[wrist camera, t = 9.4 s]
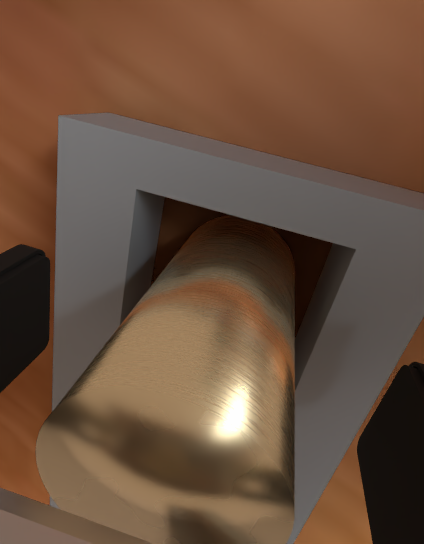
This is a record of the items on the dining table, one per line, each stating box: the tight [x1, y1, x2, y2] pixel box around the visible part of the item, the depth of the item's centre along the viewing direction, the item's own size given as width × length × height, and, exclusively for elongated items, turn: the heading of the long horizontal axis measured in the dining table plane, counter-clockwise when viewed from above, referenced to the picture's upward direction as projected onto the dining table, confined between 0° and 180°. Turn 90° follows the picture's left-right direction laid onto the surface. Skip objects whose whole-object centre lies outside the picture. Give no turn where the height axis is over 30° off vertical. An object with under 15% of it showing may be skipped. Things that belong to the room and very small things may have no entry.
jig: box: [50, 113, 424, 544], centre depth 14 cm, size 18×11×4 cm, turn 168°
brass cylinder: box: [36, 216, 295, 544], centre depth 10 cm, size 4×4×9 cm
